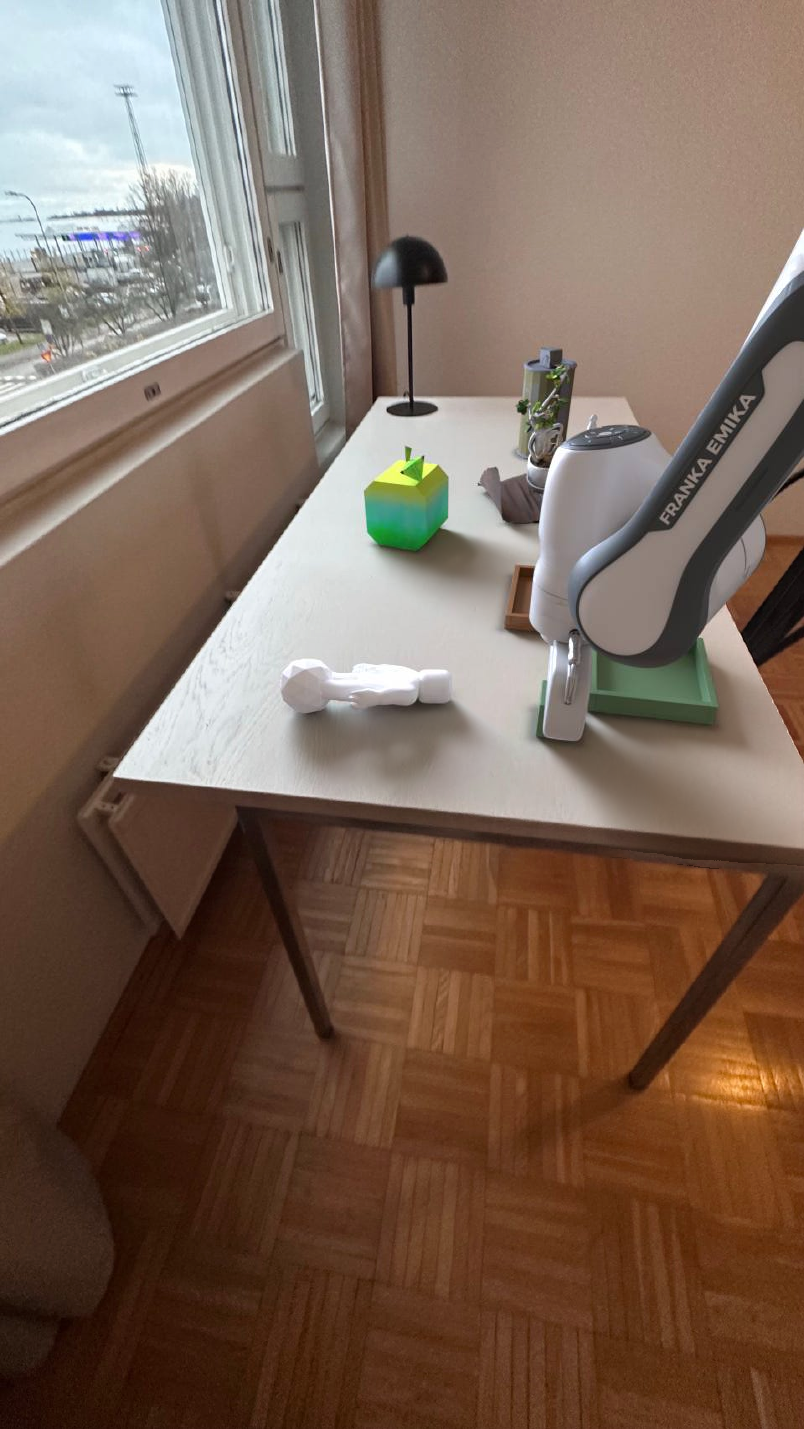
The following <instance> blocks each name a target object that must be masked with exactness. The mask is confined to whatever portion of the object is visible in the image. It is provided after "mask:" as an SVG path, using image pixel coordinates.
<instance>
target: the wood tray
mask: <svg viewBox="0 0 804 1429" xmlns="http://www.w3.org/2000/svg"><path fill="white" fill-rule="evenodd" d="M535 567H536V565H530V564H529V565H528V564H527V565H526V564H515V565H514V569H513V573H512V580H511V585H510V589H509V595H508V599H507V605H506V611H505V616H504V626H503V627H504V629H506V630H517V631H529V632H538V631H537V630H536V629H535V628H534V627H533V626H532V624H531V622H530V618H529V614H530V605H531V596H532V586H533V577H534V570H535Z"/></svg>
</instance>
